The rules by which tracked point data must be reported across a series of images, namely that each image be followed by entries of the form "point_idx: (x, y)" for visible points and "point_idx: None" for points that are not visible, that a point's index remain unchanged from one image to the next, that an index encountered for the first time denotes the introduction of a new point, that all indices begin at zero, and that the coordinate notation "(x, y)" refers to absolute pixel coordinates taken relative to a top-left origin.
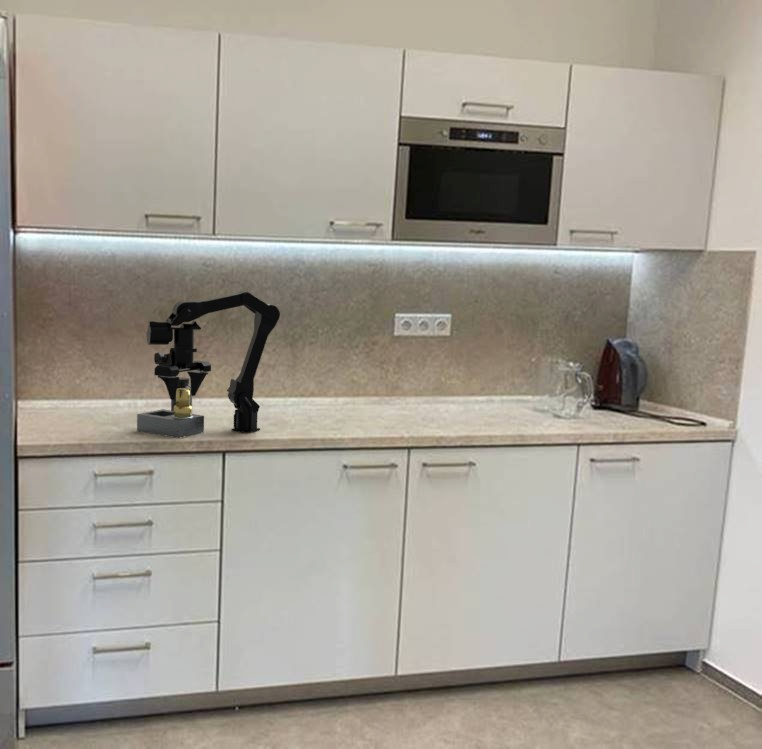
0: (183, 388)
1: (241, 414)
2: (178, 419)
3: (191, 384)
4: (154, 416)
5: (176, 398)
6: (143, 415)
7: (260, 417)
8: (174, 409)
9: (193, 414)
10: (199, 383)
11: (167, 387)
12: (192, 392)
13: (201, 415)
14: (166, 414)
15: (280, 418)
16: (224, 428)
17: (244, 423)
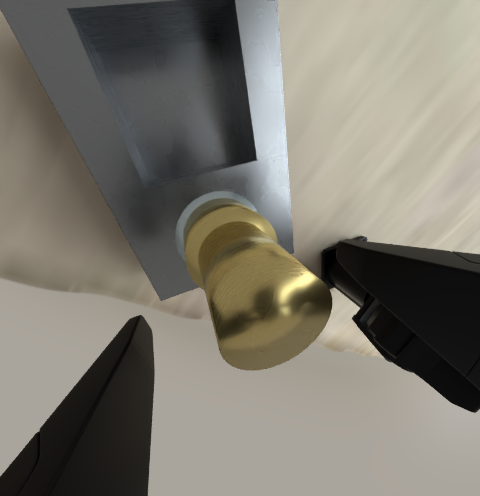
0: (310, 294)
1: (357, 297)
2: (173, 275)
3: (424, 273)
4: (92, 149)
5: (206, 275)
6: (22, 46)
7: (476, 152)
8: (185, 244)
9: (285, 213)
10: (428, 338)
11: (31, 463)
12: (353, 257)
13: (290, 245)
14: (236, 57)
15: (474, 192)
16: (335, 217)
17: (340, 288)
